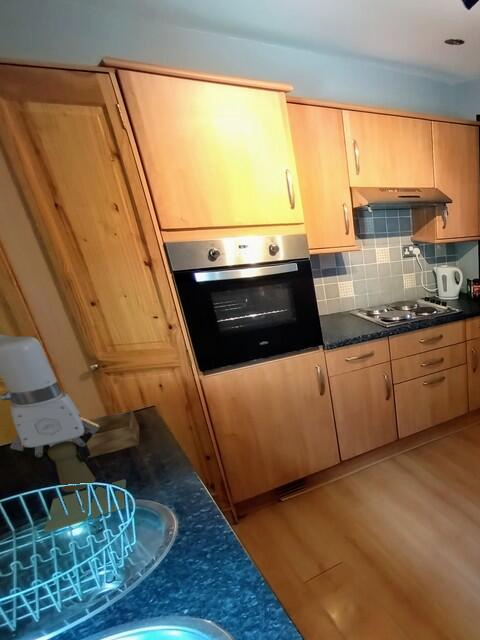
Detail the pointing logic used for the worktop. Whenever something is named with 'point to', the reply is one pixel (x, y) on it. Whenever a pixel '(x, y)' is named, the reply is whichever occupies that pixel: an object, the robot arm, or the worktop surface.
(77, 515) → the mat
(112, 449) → the basket
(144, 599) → the worktop surface
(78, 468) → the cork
